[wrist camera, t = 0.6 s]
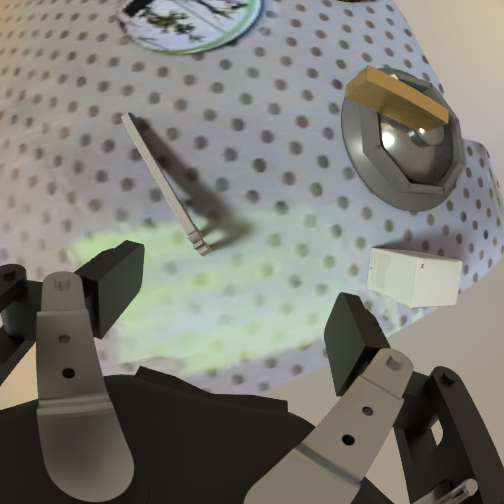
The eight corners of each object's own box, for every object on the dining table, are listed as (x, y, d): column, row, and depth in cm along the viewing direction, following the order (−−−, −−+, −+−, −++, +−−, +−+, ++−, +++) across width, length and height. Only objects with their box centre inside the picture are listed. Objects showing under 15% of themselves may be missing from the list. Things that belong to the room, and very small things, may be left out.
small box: (365, 287, 38) (409, 309, 28) (370, 246, 37) (417, 256, 27) (409, 288, 39) (456, 306, 29) (415, 250, 38) (464, 260, 28)
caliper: (212, 248, 35) (211, 254, 29) (204, 253, 35) (202, 260, 29) (128, 113, 32) (113, 95, 26) (121, 118, 32) (105, 101, 26)
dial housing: (333, 57, 34) (344, 44, 30) (446, 88, 36) (460, 81, 32) (345, 209, 36) (359, 209, 32) (460, 213, 39) (477, 214, 35)
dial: (447, 115, 35) (486, 101, 26) (439, 196, 37) (484, 194, 28) (342, 60, 33) (371, 27, 24) (325, 148, 34) (359, 129, 25)
